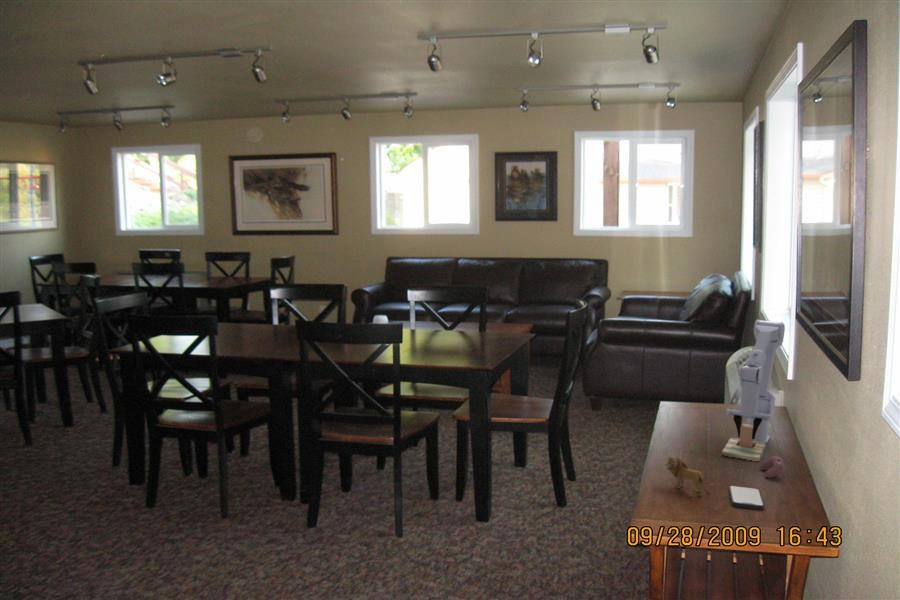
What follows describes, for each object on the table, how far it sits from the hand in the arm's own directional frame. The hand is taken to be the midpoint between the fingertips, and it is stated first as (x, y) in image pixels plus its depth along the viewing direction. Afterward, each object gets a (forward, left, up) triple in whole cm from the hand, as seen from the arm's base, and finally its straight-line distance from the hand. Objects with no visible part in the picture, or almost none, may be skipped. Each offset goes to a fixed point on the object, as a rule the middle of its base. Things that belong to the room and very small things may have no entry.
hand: (746, 437), depth 289 cm
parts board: (+4, 0, -4) cm, 6 cm away
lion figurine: (+56, -10, -4) cm, 57 cm away
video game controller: (+25, +11, -4) cm, 28 cm away
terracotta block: (0, 0, -3) cm, 3 cm away
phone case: (+54, +7, -5) cm, 55 cm away
